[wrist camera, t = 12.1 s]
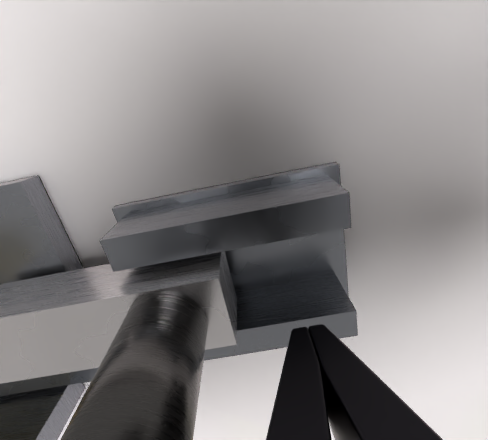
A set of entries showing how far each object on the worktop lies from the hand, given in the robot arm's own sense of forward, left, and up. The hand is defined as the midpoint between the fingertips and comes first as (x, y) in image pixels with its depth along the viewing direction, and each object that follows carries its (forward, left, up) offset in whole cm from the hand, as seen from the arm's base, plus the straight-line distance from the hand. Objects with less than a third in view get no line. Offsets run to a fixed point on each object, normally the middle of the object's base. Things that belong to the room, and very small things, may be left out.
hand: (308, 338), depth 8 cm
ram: (+8, 0, -4) cm, 9 cm away
